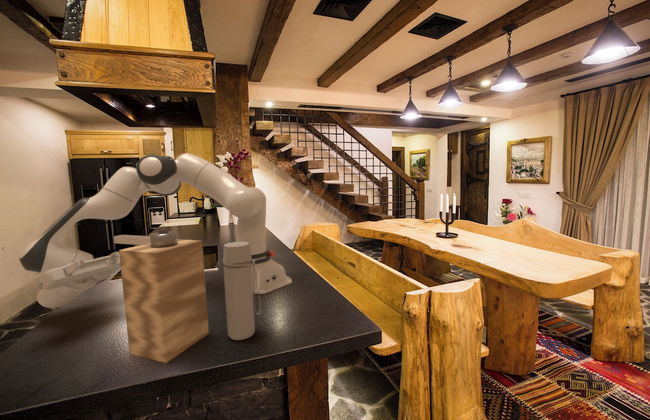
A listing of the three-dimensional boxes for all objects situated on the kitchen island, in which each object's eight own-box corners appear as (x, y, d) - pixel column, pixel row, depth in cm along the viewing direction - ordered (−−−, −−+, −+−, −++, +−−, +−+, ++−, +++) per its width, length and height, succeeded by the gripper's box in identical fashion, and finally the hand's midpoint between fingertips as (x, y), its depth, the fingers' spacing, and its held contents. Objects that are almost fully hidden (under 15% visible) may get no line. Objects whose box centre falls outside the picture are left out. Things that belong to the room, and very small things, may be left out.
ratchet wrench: (107, 244, 79) (105, 228, 79) (129, 240, 85) (128, 225, 84) (163, 248, 72) (161, 231, 72) (183, 243, 78) (181, 227, 77)
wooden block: (129, 353, 75) (119, 250, 72) (175, 327, 88) (168, 238, 85) (166, 363, 70) (156, 253, 68) (208, 333, 83) (202, 240, 81)
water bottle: (229, 345, 77) (223, 248, 75) (226, 331, 84) (220, 243, 82) (265, 336, 81) (260, 244, 78) (259, 324, 88) (254, 239, 85)
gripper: (26, 280, 81) (51, 257, 76) (105, 260, 100) (129, 241, 95) (36, 301, 81) (61, 280, 76) (113, 277, 100) (137, 259, 95)
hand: (99, 258), depth 86 cm, fingers open, 8 cm apart
